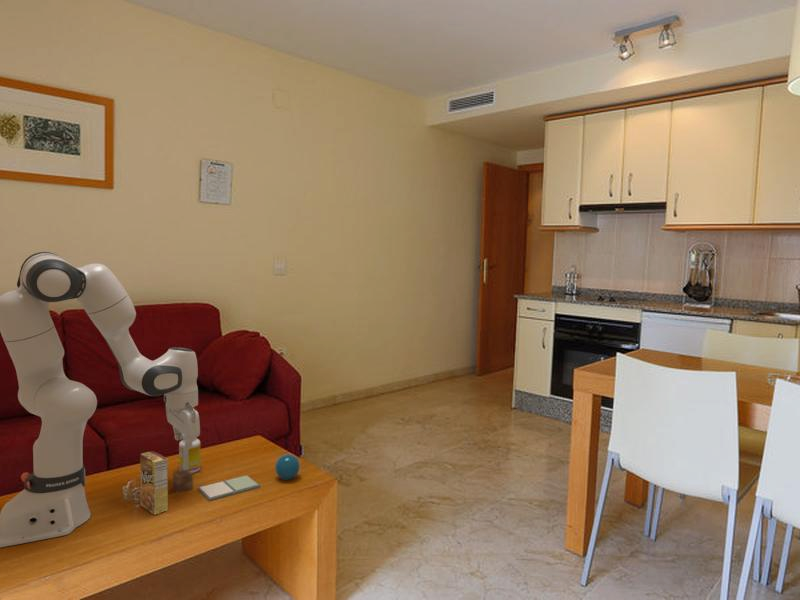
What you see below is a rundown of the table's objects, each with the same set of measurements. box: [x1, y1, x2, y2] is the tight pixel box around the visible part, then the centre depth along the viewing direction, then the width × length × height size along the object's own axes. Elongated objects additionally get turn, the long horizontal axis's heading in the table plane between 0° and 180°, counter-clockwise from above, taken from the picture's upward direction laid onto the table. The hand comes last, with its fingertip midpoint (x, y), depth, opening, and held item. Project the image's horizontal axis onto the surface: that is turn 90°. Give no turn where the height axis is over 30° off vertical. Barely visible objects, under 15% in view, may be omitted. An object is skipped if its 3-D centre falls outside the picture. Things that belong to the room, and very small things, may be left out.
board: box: [197, 474, 261, 502], centre depth 167 cm, size 16×10×1 cm, turn 130°
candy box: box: [139, 450, 169, 516], centre depth 152 cm, size 9×4×15 cm, turn 50°
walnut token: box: [172, 469, 194, 494], centre depth 165 cm, size 4×4×5 cm
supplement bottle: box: [178, 433, 202, 474], centre depth 179 cm, size 7×7×13 cm
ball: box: [274, 453, 301, 481], centre depth 175 cm, size 8×8×8 cm
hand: (183, 443), depth 165 cm, fingers open, 8 cm apart
